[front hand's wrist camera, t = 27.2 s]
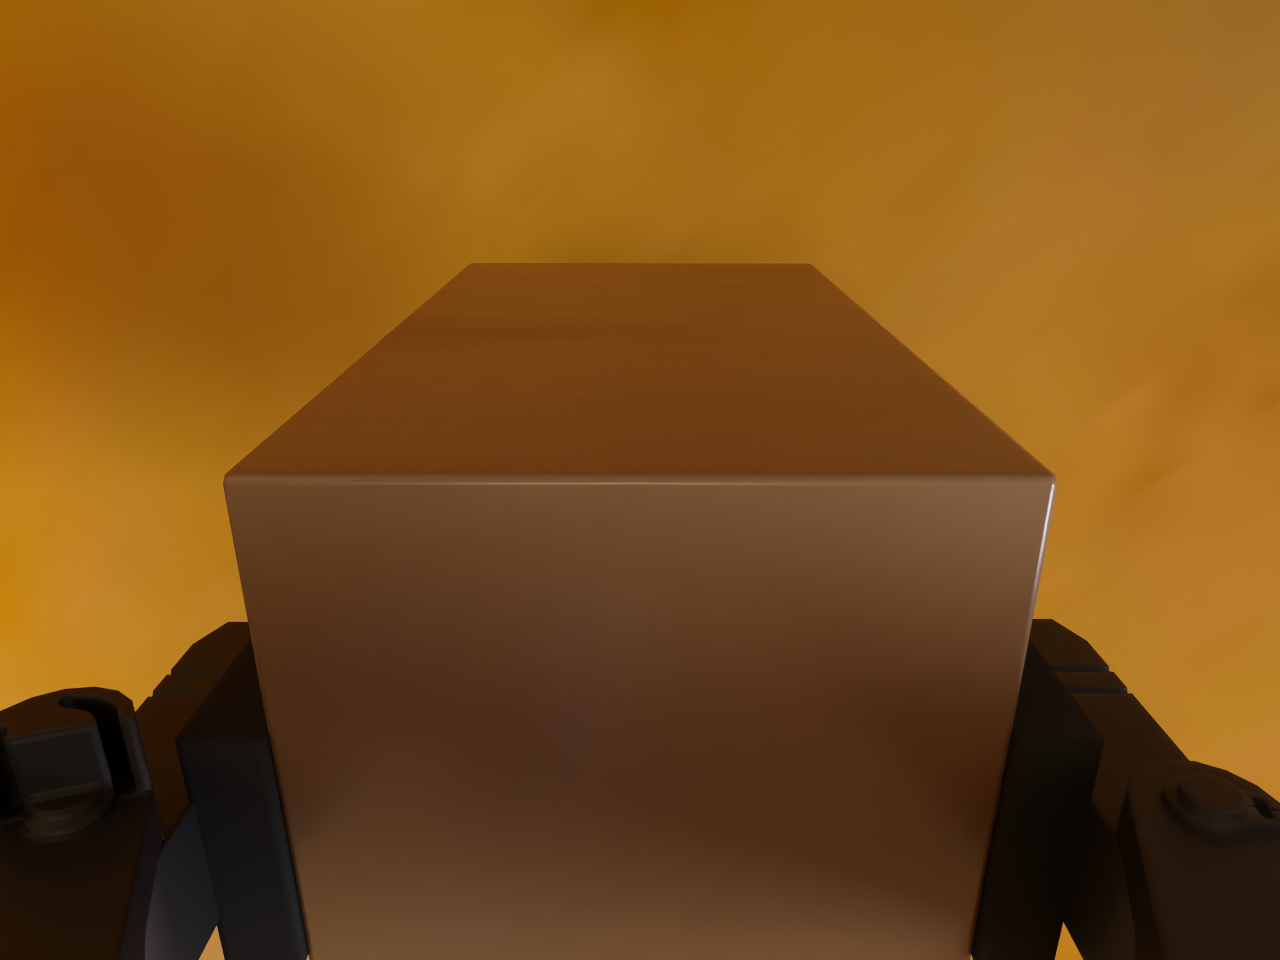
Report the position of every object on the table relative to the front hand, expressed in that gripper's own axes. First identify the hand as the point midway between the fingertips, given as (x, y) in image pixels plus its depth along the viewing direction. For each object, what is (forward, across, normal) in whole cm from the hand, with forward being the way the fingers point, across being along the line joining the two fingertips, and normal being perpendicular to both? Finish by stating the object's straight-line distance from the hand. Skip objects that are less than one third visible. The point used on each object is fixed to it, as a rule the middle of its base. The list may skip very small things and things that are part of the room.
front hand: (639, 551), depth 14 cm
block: (+5, 0, 0) cm, 5 cm away
